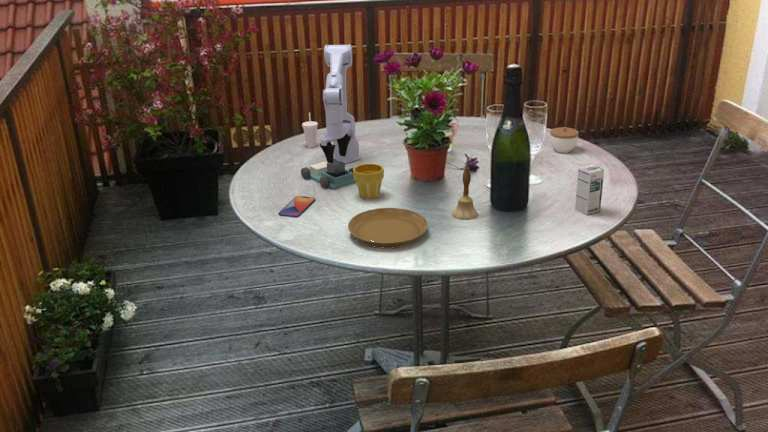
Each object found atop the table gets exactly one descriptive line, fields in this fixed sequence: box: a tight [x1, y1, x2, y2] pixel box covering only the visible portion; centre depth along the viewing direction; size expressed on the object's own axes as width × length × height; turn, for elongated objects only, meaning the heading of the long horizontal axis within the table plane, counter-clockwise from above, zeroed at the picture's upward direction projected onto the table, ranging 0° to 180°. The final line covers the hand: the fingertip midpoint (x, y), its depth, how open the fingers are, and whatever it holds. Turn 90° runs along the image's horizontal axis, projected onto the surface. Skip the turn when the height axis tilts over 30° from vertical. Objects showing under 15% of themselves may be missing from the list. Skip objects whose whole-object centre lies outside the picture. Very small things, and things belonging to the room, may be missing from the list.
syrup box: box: [574, 164, 605, 216], centre depth 228 cm, size 6×6×14 cm
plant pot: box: [353, 163, 385, 200], centre depth 245 cm, size 10×10×10 cm
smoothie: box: [301, 112, 319, 149], centre depth 292 cm, size 6×6×14 cm
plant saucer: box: [347, 207, 429, 249], centre depth 219 cm, size 24×24×3 cm
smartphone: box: [277, 195, 316, 218], centre depth 239 cm, size 7×15×1 cm, turn 162°
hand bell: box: [451, 166, 479, 220], centre depth 227 cm, size 8×8×16 cm
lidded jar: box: [549, 126, 580, 154], centre depth 281 cm, size 11×11×9 cm
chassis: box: [300, 159, 357, 191], centre depth 261 cm, size 14×20×4 cm
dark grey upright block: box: [327, 160, 346, 178], centre depth 257 cm, size 4×5×6 cm
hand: (336, 159), depth 255 cm, fingers open, 7 cm apart
